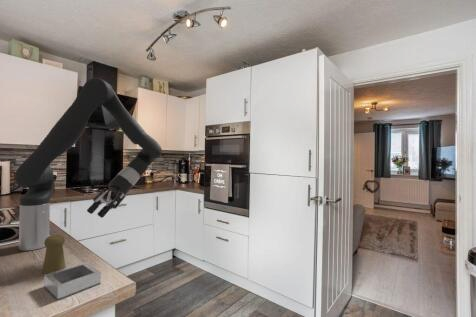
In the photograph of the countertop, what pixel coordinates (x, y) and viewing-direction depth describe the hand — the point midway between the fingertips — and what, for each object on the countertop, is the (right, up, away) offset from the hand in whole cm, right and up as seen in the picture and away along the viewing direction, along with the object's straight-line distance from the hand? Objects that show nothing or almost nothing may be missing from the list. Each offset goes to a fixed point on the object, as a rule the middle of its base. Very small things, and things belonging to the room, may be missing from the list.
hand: (94, 214), depth 87 cm
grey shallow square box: (+5, -16, -18) cm, 25 cm away
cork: (-7, -16, -9) cm, 20 cm away
